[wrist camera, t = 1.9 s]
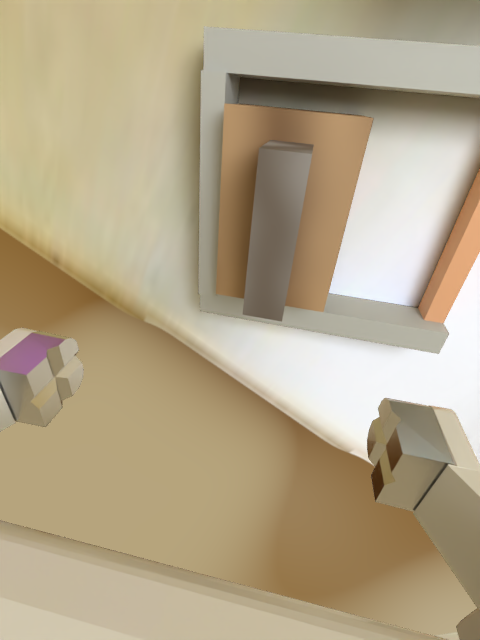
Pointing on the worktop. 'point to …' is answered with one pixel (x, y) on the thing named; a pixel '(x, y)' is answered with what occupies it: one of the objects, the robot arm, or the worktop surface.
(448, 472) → the robot arm
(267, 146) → the brown and grey block
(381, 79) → the bay
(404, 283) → the worktop surface
